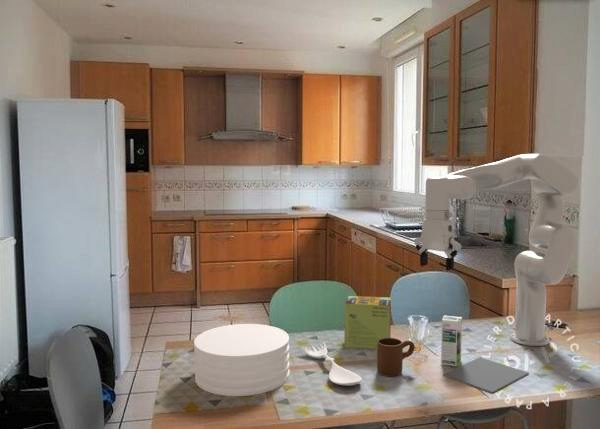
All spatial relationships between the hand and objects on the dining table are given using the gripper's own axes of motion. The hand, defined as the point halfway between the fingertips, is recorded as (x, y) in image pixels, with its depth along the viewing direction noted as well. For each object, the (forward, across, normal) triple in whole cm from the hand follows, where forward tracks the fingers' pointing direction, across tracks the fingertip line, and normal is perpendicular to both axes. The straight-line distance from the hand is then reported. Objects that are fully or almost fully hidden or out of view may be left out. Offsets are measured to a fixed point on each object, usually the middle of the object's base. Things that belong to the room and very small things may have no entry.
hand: (436, 267), depth 170 cm
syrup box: (+29, -8, +4) cm, 30 cm away
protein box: (+29, +21, +10) cm, 37 cm away
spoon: (+29, +14, +35) cm, 48 cm away
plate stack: (+29, +28, +58) cm, 70 cm away
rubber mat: (+29, -20, +4) cm, 35 cm away
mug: (+29, -1, +22) cm, 36 cm away
